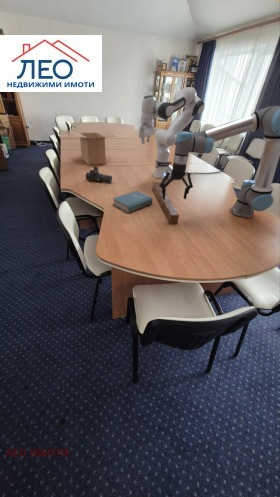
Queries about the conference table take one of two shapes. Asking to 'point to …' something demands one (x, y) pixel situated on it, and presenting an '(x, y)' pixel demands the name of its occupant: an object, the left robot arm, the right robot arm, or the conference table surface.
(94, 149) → the box
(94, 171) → the laser sight
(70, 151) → the conference table surface
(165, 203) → the bar
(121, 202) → the book
